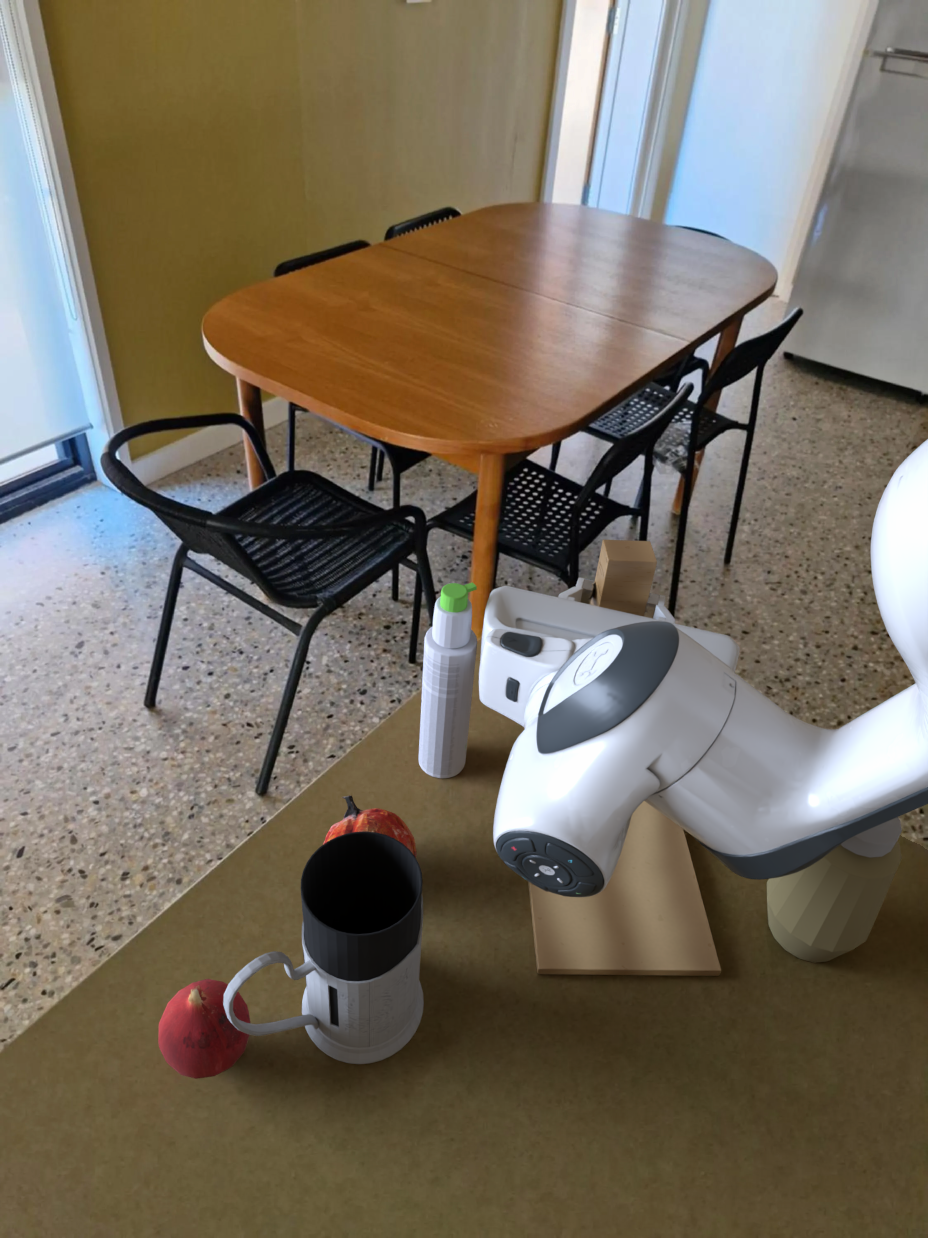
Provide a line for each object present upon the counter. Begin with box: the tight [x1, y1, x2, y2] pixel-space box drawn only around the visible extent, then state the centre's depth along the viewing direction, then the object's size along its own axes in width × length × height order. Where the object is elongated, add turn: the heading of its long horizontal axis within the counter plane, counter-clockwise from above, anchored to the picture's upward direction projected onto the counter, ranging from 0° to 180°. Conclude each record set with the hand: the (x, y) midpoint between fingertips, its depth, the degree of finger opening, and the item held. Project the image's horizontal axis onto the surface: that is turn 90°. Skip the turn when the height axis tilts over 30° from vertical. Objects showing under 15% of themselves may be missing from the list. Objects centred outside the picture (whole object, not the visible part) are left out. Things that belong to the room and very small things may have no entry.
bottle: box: [418, 581, 478, 779], centre depth 76 cm, size 4×4×20 cm
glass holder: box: [223, 831, 425, 1065], centre depth 58 cm, size 9×14×15 cm, turn 131°
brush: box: [590, 539, 658, 616], centre depth 76 cm, size 11×5×11 cm, turn 91°
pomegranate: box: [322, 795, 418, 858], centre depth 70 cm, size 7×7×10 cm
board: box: [527, 801, 722, 977], centre depth 75 cm, size 14×20×1 cm
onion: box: [157, 978, 252, 1080], centre depth 58 cm, size 6×6×8 cm
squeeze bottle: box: [766, 817, 903, 963], centre depth 66 cm, size 8×8×18 cm
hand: (620, 592), depth 76 cm, fingers closed on brush, 5 cm apart
